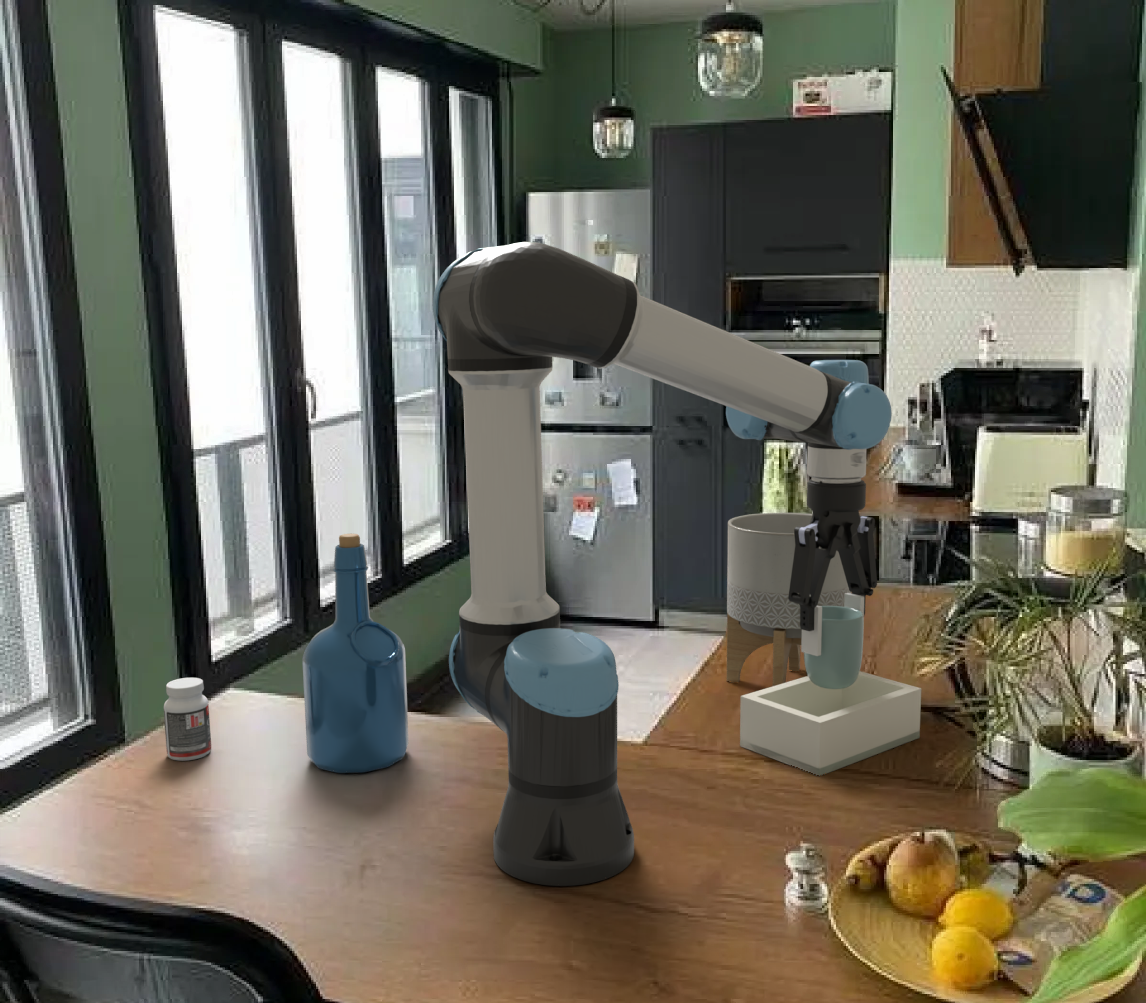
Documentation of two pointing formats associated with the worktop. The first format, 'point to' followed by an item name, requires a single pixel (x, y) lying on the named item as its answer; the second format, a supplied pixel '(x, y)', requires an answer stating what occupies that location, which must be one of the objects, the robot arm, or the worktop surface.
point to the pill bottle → (187, 720)
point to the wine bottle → (354, 678)
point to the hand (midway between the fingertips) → (832, 647)
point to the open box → (829, 721)
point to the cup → (837, 649)
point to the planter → (769, 590)
